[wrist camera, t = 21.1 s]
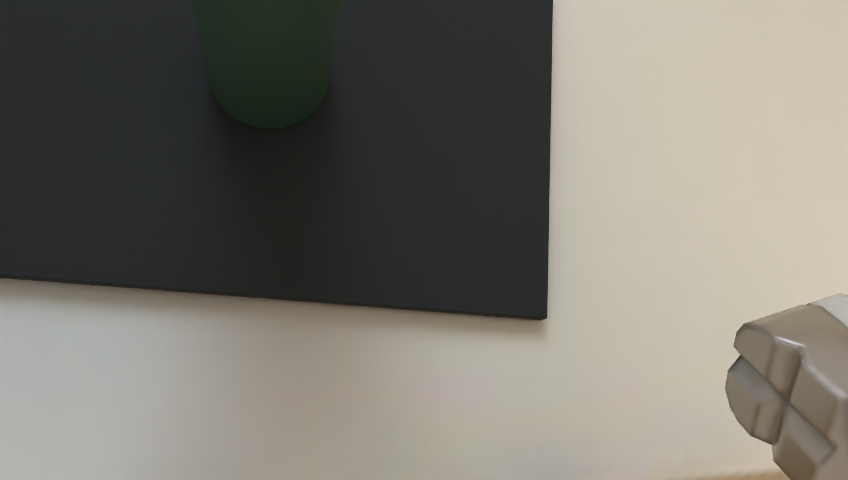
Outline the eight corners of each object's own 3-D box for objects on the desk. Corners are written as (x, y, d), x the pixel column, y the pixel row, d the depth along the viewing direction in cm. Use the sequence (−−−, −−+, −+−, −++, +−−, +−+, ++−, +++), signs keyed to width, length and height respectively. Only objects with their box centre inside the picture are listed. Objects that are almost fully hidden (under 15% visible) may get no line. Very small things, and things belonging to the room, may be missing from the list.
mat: (-104, 269, 18) (-112, 266, 18) (-26, -101, 20) (-31, -111, 20) (542, 320, 21) (547, 318, 20) (548, -11, 23) (553, -19, 23)
